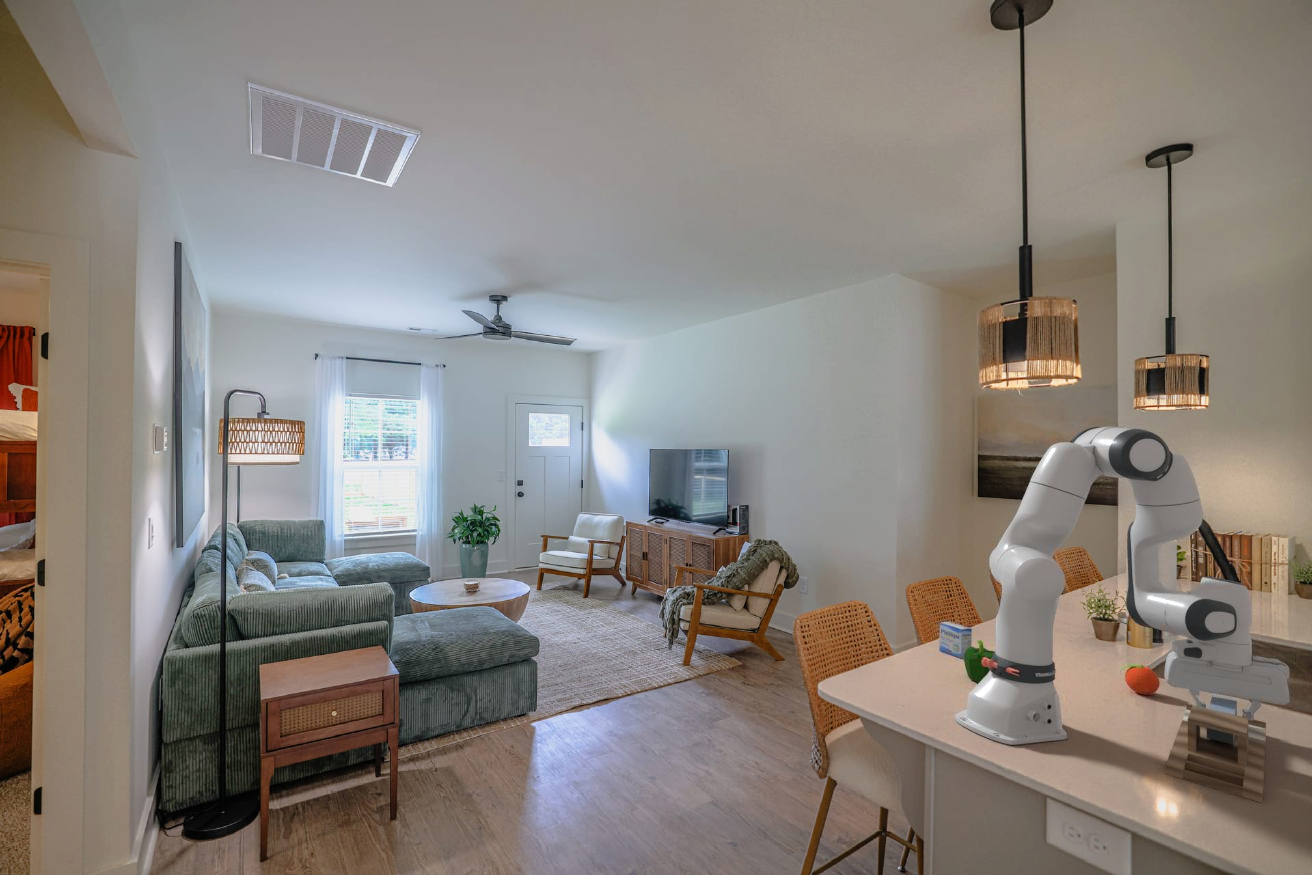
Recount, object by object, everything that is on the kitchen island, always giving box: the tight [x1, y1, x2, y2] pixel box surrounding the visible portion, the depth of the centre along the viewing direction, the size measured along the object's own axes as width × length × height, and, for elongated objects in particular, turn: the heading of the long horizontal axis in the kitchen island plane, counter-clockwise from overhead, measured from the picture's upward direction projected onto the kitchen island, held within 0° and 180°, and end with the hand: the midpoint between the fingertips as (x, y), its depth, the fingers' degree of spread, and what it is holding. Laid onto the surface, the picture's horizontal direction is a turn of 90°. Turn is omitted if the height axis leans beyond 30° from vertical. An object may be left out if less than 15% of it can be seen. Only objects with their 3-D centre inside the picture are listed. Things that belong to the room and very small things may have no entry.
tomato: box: [1119, 664, 1161, 696], centre depth 155 cm, size 8×7×7 cm
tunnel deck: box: [1165, 703, 1267, 804], centre depth 124 cm, size 38×13×8 cm, turn 134°
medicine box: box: [938, 621, 973, 660], centre depth 183 cm, size 8×4×9 cm, turn 25°
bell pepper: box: [963, 639, 995, 683], centre depth 161 cm, size 8×8×10 cm
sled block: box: [1207, 695, 1238, 744], centre depth 130 cm, size 16×4×4 cm, turn 134°
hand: (1224, 714), depth 135 cm, fingers open, 6 cm apart
